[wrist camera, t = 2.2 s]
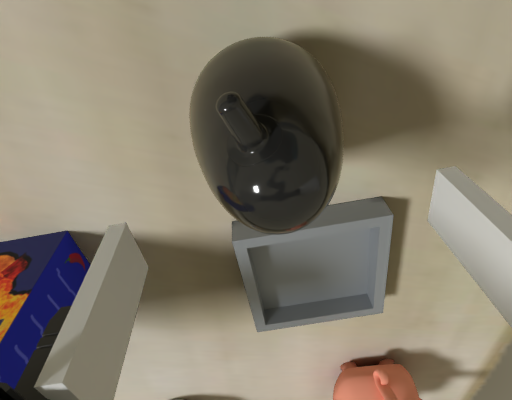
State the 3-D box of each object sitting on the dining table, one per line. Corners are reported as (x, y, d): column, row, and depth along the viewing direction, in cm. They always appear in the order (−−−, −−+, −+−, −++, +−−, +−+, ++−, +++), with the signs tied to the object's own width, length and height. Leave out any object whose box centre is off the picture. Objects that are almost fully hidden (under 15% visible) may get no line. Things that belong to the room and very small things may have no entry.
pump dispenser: (291, -5, 23) (364, 34, 10) (337, 122, 28) (420, 244, 16) (167, 66, 25) (106, 167, 13) (233, 171, 31) (236, 311, 18)
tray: (231, 221, 34) (232, 241, 32) (381, 196, 33) (393, 214, 31) (255, 311, 43) (257, 332, 41) (374, 292, 42) (382, 312, 40)
